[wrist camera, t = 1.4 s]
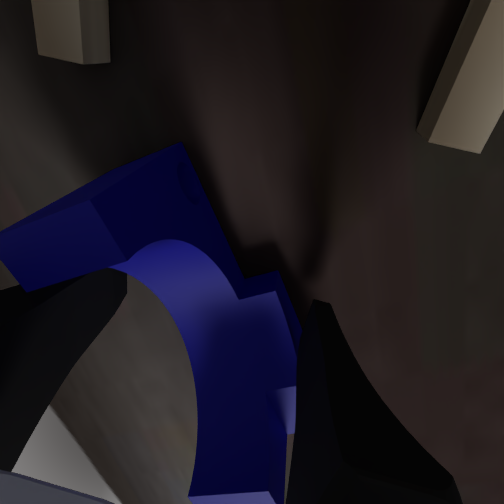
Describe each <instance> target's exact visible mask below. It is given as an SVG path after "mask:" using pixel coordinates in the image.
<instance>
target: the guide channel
mask: <svg viewBox="0 0 504 504" xmlns="http://www.w3.org/2000/svg"><path fill="white" fill-rule="evenodd" d="M31 3H32V11H33V18H34V26H35V33H36V41H37V48H38V55H43V56H47V57H52V58H56V59H61V60H65V61H70V62H74V63H79V64H83V65H84V64H99V63H111V62H110V34H109V6H108V0H31ZM503 110H504V0H471V1H470V3H469V5H468V8H467V10H466V13H465V15H464V17H463V20H462V22H461V24H460V27H459V29H458V32H457V34H456V36H455V39H454V41H453V44H452V46H451V48H450V51H449V53H448V55H447V58H446V60H445V63H444V65H443V67H442V70H441V72H440V75H439V77H438V79H437V82H436V84H435V86H434V89H433V91H432V94H431V96H430V98H429V101H428V103H427V105H426V108H425V110H424V113H423V115H422V117H421V120H420V122H419V125H418V127H417V129H416V131H417V132H418V133H419V134H420V135H421V136H422V137H423V138H424V139H425V140H426V141H428V142H430V143H435V144H439V145H444V146H448V147H453V148H457V149H461V150H466V151H470V152H475V153H479V154H480V153H481V151H482V149H483V147H484V145H485V143H486V142H487V140H488V138H489V136H490V134H491V132H492V130H493V128H494V127H495V125H496V123H497V121H498V119H499V117H500V115H501V113H502V112H503Z"/></svg>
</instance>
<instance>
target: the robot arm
mask: <svg viewBox="0 0 504 504" xmlns="http://www.w3.org/2000/svg"><path fill="white" fill-rule="evenodd" d="M126 294H127V273H125V272H122V271H119V270H116V269H113V268H108V267H107V268H104V269H100V270H97V271H94V272H91V273H88V274H84V275H81V276H78V277H75V278H71V279H68V280H65V281H62V282H59V283H55V284H52V285H49V286H46V287H43V288H39V289H36V290H33V291H30V292H26V291H25V290H24V289H23V287H22V286H21V285H17V286H13V287H10V288H7V289H4V290H0V504H114V503H112V502H109V501H107V500H104V499H101V498H98V497H94V496H91V495H88V494H84V493H81V492H78V491H74V490H71V489H68V488H64V487H61V486H57V485H54V484H51V483H48V482H44V481H41V480H37V479H34V478H31V477H28V476H24V475H21V474H18V473H13V472H11V471H12V469H13V467H14V466H15V464H16V462H17V460H18V458H19V456H20V454H21V453H22V451H23V449H24V447H25V445H26V443H27V441H28V440H29V438H30V436H31V434H32V433H33V431H34V429H35V427H36V426H37V424H38V422H39V420H40V419H41V417H42V415H43V414H44V412H45V410H46V409H47V407H48V405H49V404H50V402H51V400H52V399H53V397H54V395H55V394H56V392H57V391H58V389H59V387H60V386H61V384H62V383H63V381H64V380H65V378H66V377H67V375H68V374H69V372H70V370H71V369H72V367H73V366H74V365H75V363H76V362H77V361H78V359H79V358H80V357H81V355H82V354H83V353H84V352H85V350H86V349H87V348H88V347H89V346H90V344H91V343H92V342H93V341H94V339H95V338H96V337H97V336H98V334H99V333H100V332H101V331H102V329H103V328H104V327H105V326H106V324H107V323H108V322H109V320H110V319H111V318H112V317H113V315H114V314H115V312H116V311H117V309H118V308H119V306H120V304H121V303H122V301H123V299H124V297H125V296H126ZM286 504H463V503H462V500H461V496H460V494H459V491H458V489H457V486H456V483H455V481H454V478H453V476H452V475H451V474H450V473H449V472H448V471H447V470H446V469H445V468H444V467H443V466H442V465H441V464H439V463H438V462H437V461H436V460H435V459H434V458H433V457H432V456H431V455H430V454H429V453H428V452H427V451H426V450H425V449H424V448H423V447H422V446H421V445H420V444H419V443H418V442H417V440H416V439H415V438H414V437H413V436H412V435H411V434H410V433H409V432H408V431H407V430H406V428H405V427H404V426H403V425H402V424H401V423H400V421H399V420H398V419H397V418H396V417H395V415H394V414H393V413H392V412H391V410H390V409H389V408H388V407H387V405H386V404H385V403H384V402H383V400H382V399H381V398H380V396H379V395H378V394H377V392H376V391H375V389H374V388H373V386H372V385H371V383H370V382H369V380H368V379H367V377H366V376H365V374H364V372H363V371H362V369H361V367H360V366H359V364H358V362H357V360H356V358H355V357H354V355H353V353H352V351H351V349H350V347H349V345H348V343H347V341H346V339H345V337H344V335H343V333H342V330H341V328H340V326H339V323H338V321H337V319H336V316H335V314H334V311H333V309H332V306H331V304H330V303H326V302H323V301H319V300H315V299H314V300H313V303H312V306H311V308H310V311H309V314H308V317H307V320H306V322H305V325H304V328H303V331H302V334H301V336H300V341H299V348H298V355H297V366H296V420H295V434H294V442H293V451H292V460H291V468H290V476H289V484H288V491H287V498H286Z"/></svg>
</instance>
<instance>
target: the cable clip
mask: <svg viewBox="0 0 504 504" xmlns="http://www.w3.org/2000/svg"><path fill="white" fill-rule="evenodd" d="M0 260H1V261H2V262H3V263H4V265H5V266H6V267H7V268H8V270H9V271H10V272H11V273H12V275H13V276H14V277H15V279H16V280H17V281H18V282H19V284H20V285H21V286H22V287H23V289H24V290H25V291H26V292H30V291H33V290H36V289H39V288H43V287H46V286H49V285H52V284H55V283H59V282H62V281H65V280H68V279H71V278H75V277H78V276H81V275H84V274H88V273H91V272H94V271H97V270H100V269H104V268H107V267H108V268H113V269H116V270H119V271H122V272H125V273H127V274H129V275H131V276H133V277H135V278H136V279H138V280H139V281H141V282H142V283H143V284H145V285H146V286H147V287H148V288H150V289H151V290H152V291H153V292H154V293H155V294H156V295H157V297H158V298H159V299H160V300H161V301H162V303H163V304H164V305H165V307H166V308H167V309H168V311H169V312H170V314H171V316H172V317H173V319H174V321H175V323H176V325H177V327H178V329H179V331H180V333H181V335H182V338H183V340H184V343H185V346H186V349H187V351H188V355H189V359H190V362H191V366H192V371H193V376H194V381H195V388H196V397H197V411H198V432H197V448H196V457H195V465H194V471H193V476H192V481H191V486H190V490H189V494H188V498H189V499H190V501H191V502H192V503H193V504H284V490H285V468H286V447H287V434H292V433H295V420H296V366H297V355H298V348H299V341H300V336H301V334H302V331H303V330H302V328H301V326H300V323H299V321H298V318H297V316H296V313H295V311H294V308H293V306H292V303H291V301H290V298H289V296H288V294H287V291H286V289H285V286H284V284H283V281H282V279H281V276H280V274H279V271H278V270H277V271H273V272H269V273H265V274H261V275H258V276H254V277H250V278H246V279H244V277H243V274H242V272H241V270H240V268H239V266H238V264H237V261H236V259H235V257H234V255H233V253H232V250H231V248H230V246H229V244H228V242H227V240H226V237H225V235H224V233H223V231H222V229H221V226H220V224H219V222H218V220H217V218H216V216H215V213H214V211H213V209H212V207H211V205H210V203H209V200H208V198H207V196H206V194H205V192H204V189H203V187H202V185H201V183H200V181H199V179H198V176H197V174H196V172H195V170H194V168H193V165H192V163H191V161H190V159H189V157H188V155H187V152H186V150H185V148H184V146H183V144H182V142H179V143H177V144H174V145H172V146H169V147H167V148H164V149H162V150H160V151H157V152H155V153H152V154H150V155H147V156H145V157H142V158H140V159H137V160H135V161H133V162H130V163H128V164H125V165H123V166H120V167H118V168H115V169H113V170H111V171H109V172H108V173H106V174H104V175H102V176H100V177H98V178H97V179H95V180H93V181H91V182H89V183H88V184H86V185H84V186H82V187H80V188H78V189H77V190H75V191H73V192H71V193H69V194H68V195H66V196H64V197H62V198H60V199H59V200H57V201H55V202H53V203H51V204H49V205H48V206H46V207H44V208H42V209H40V210H39V211H37V212H35V213H33V214H31V215H30V216H28V217H26V218H24V219H22V220H20V221H19V222H17V223H15V224H13V225H11V226H10V227H8V228H6V229H4V230H2V231H1V232H0Z"/></svg>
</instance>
